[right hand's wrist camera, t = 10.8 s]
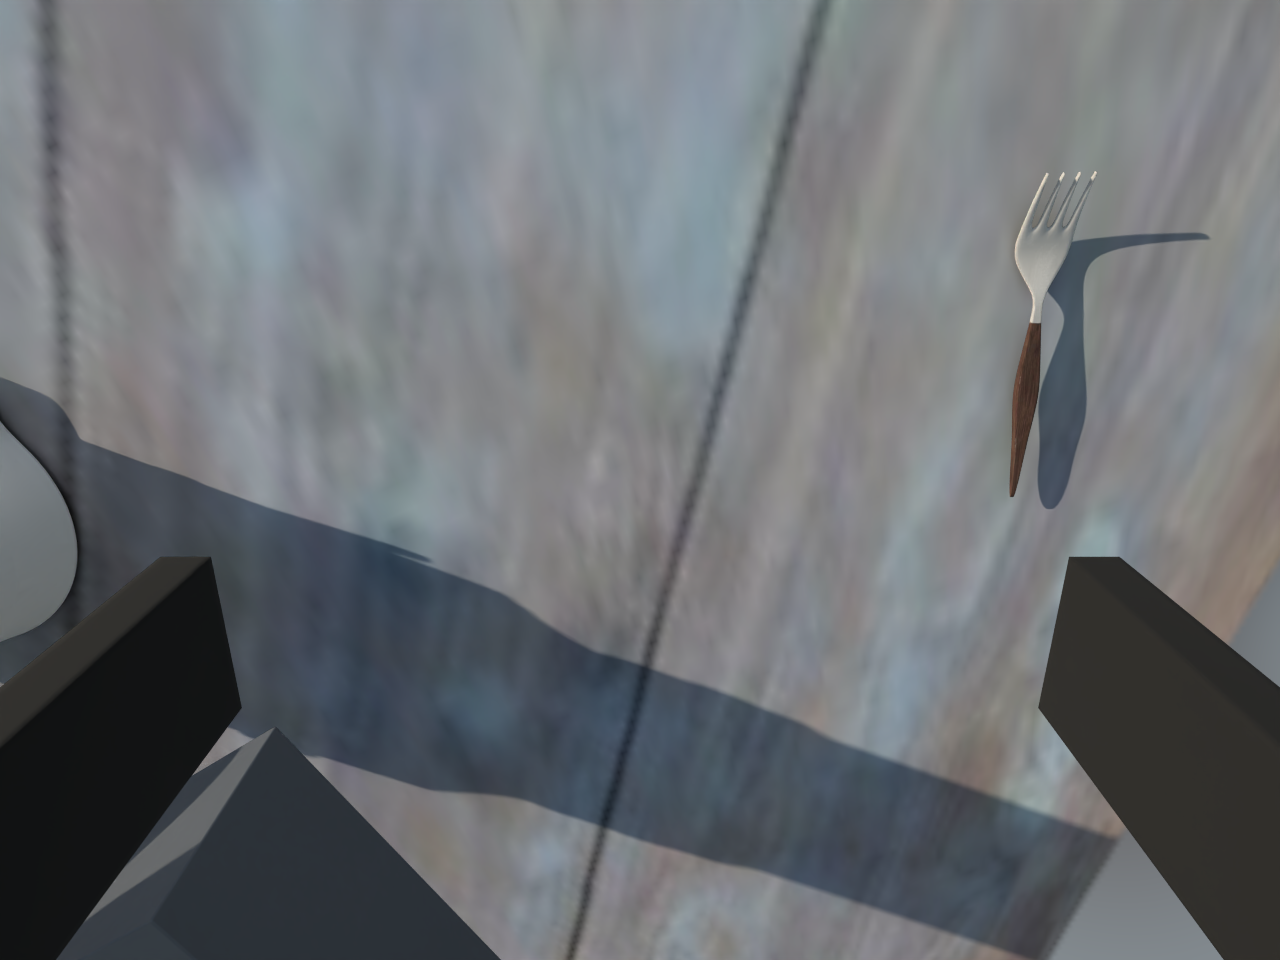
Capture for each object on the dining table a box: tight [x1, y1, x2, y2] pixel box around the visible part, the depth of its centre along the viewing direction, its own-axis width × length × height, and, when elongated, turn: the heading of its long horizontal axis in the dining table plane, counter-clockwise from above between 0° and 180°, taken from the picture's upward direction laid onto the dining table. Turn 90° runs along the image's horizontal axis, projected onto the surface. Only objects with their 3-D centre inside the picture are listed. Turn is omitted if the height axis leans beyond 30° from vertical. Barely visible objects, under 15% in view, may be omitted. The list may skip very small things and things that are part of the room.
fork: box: [1010, 171, 1097, 497], centre depth 40 cm, size 3×16×2 cm, turn 2°
